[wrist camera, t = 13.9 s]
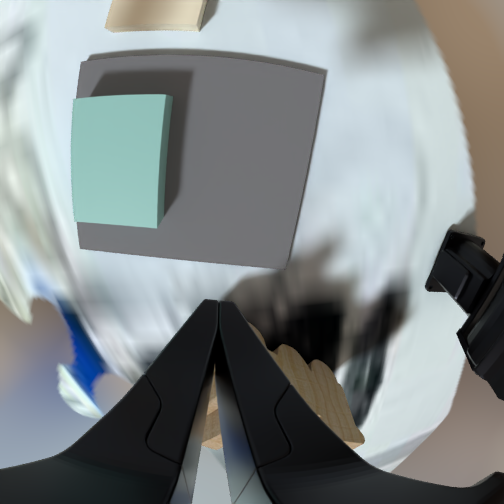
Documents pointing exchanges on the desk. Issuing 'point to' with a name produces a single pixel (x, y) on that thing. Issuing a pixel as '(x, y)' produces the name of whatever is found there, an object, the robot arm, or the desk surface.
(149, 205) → the teal slab
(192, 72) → the mat
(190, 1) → the birch slab
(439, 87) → the desk surface
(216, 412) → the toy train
